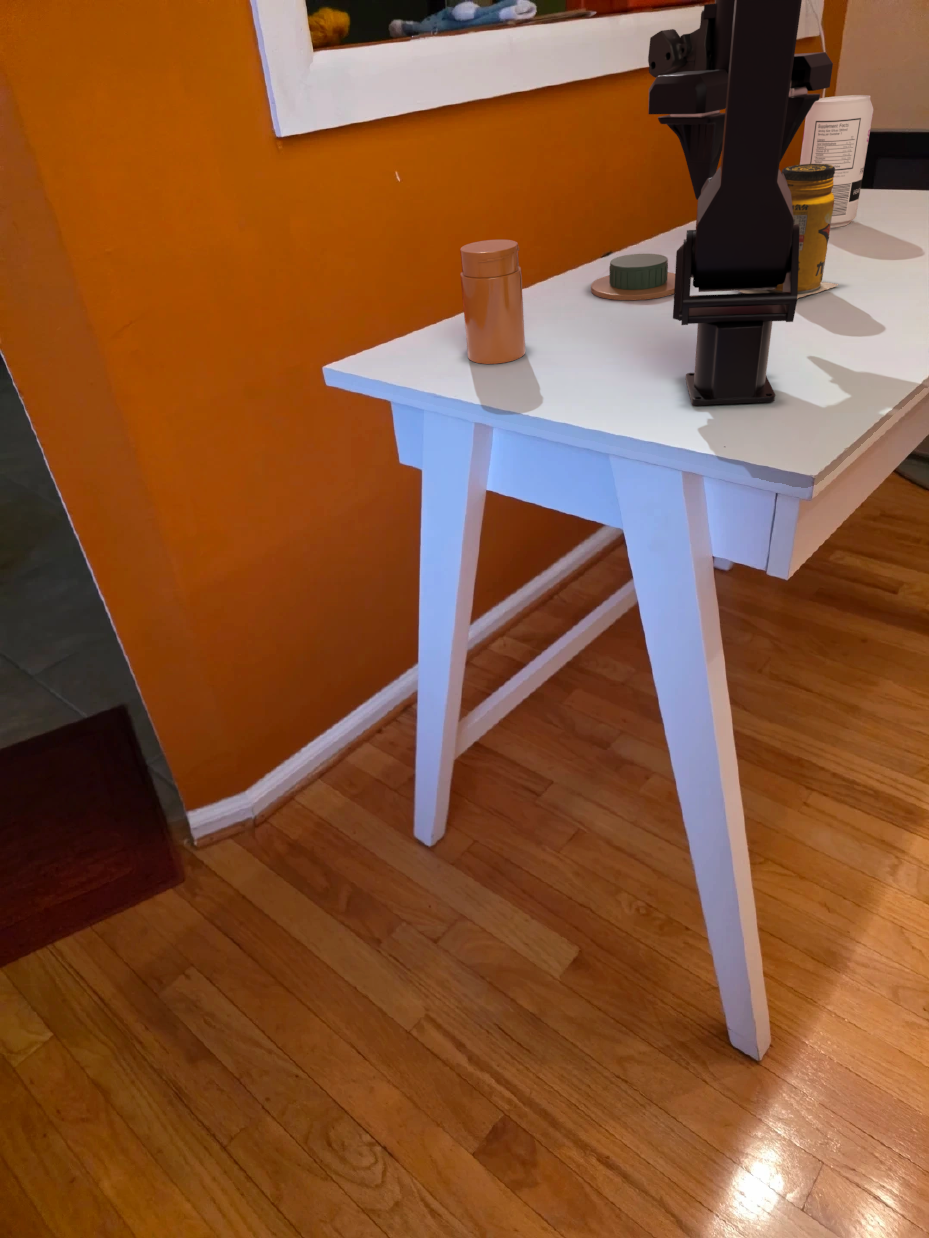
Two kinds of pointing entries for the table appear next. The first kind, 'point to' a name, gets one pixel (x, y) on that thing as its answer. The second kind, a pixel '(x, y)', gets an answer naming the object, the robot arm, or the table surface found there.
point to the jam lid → (638, 271)
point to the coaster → (609, 292)
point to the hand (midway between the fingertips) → (733, 191)
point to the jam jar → (492, 301)
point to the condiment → (810, 223)
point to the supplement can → (840, 147)
